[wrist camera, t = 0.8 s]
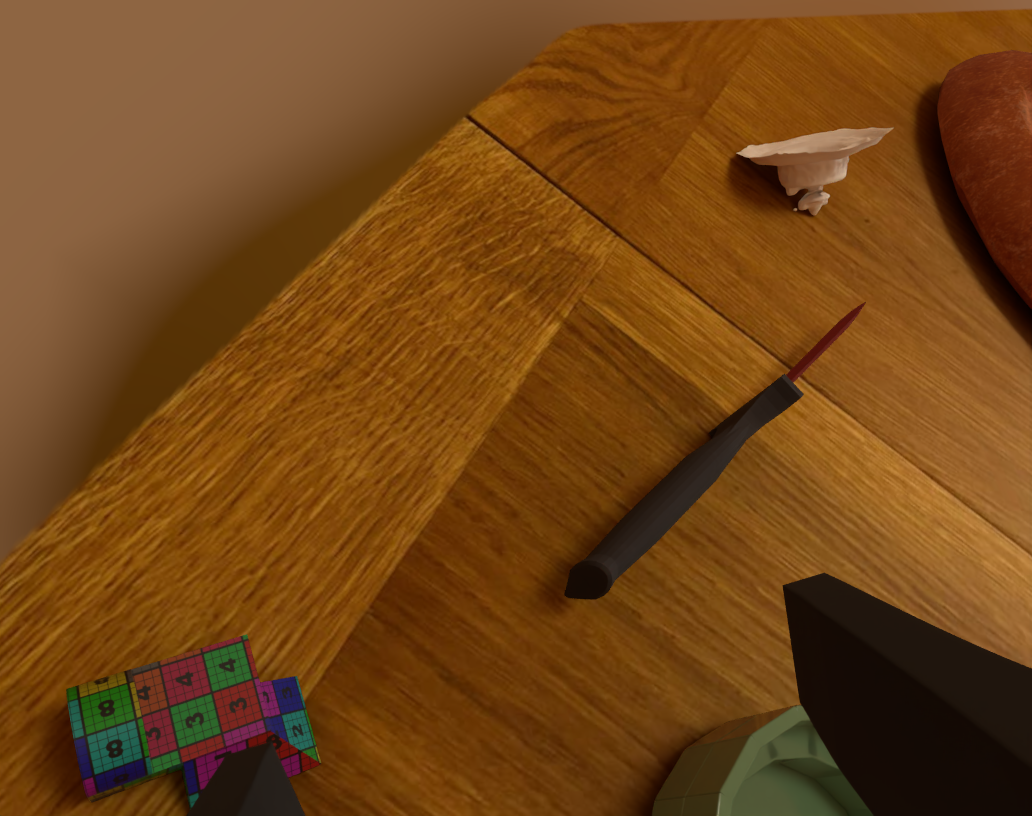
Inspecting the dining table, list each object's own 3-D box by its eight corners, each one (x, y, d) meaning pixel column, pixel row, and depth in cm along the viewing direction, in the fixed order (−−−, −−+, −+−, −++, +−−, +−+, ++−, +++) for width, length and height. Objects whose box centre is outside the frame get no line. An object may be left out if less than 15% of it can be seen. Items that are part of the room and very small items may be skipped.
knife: (569, 617, 30) (636, 579, 26) (543, 586, 30) (605, 544, 26) (842, 337, 44) (913, 284, 40) (823, 317, 44) (892, 262, 40)
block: (101, 852, 22) (94, 851, 19) (73, 701, 23) (63, 679, 20) (319, 764, 24) (341, 752, 22) (283, 635, 26) (299, 608, 23)
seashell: (744, 239, 50) (781, 217, 43) (722, 157, 50) (754, 119, 42) (870, 202, 50) (931, 172, 42) (847, 119, 50) (905, 73, 42)
